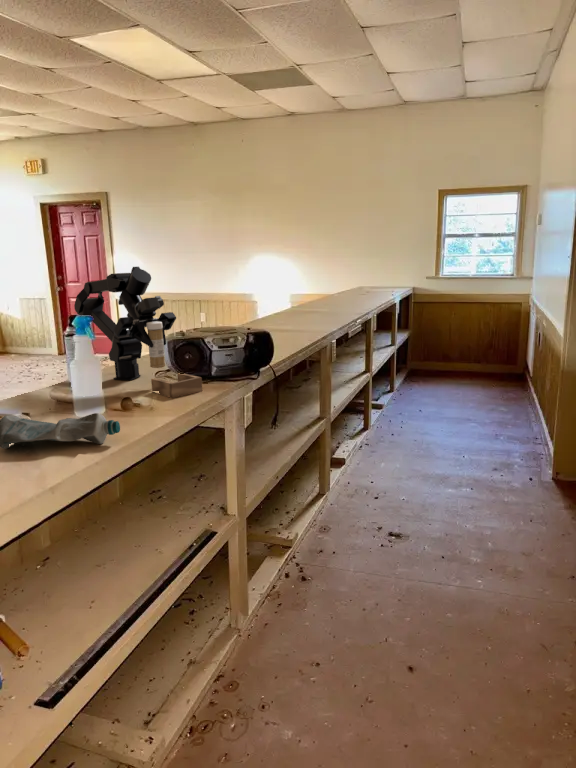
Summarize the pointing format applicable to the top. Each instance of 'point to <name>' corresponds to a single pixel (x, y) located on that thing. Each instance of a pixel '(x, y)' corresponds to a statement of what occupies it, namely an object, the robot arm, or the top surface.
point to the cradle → (178, 386)
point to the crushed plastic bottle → (56, 429)
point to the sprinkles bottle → (156, 344)
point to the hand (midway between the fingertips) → (158, 345)
